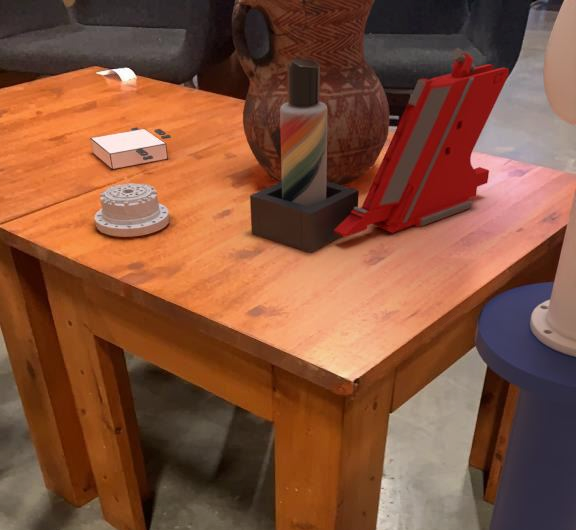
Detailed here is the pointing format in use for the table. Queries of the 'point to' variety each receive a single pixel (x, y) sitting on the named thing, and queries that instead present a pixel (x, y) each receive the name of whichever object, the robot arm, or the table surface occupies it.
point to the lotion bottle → (303, 135)
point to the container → (130, 148)
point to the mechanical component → (130, 211)
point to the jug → (333, 81)
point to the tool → (432, 151)
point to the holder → (301, 216)
